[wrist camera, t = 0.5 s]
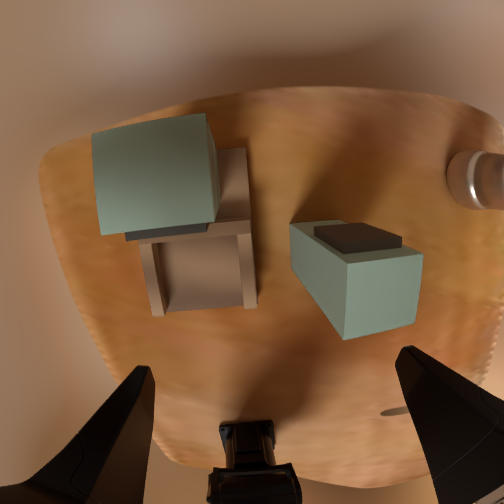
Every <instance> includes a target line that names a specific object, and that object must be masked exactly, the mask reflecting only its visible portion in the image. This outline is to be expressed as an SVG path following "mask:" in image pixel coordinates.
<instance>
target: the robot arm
mask: <svg viewBox="0 0 504 504" xmlns="http://www.w3.org/2000/svg"><path fill="white" fill-rule="evenodd" d="M395 368H396V371H397V374H398V378H399V381H400V385H401V388H402V392H403V395H404V399H405V402H406V404H407V407H408V409H409V412H410V415H411V417H412V420H413V423H414V426H415V428H416V431H417V434H418V437H419V440H420V442H421V445H422V448H423V451H424V454H425V457H426V461H427V464H428V467H429V470H430V473H431V477H432V479H433V484H434V488H435V491H436V495H437V499H438V503H439V504H473V503H476V504H504V401H503V400H501V399H500V398H497V397H496V396H494V395H492V394H490V393H489V392H487V391H485V390H484V389H482V388H481V387H478V386H477V385H476V384H474V383H473V382H471V381H469V380H468V379H466V378H465V377H463V376H461V375H460V374H458V373H457V372H455V371H453V370H452V369H450V368H448V367H447V366H445V365H444V364H442V363H440V362H439V361H437V360H436V359H434V358H432V357H431V356H429V355H428V354H426V353H424V352H423V351H421V350H419V349H418V348H416V347H415V346H413V345H409V346H405V347H403V348H402V349H401V351H400V353H399V355H398V357H397V360H396V362H395ZM154 401H155V380H154V378H153V375H152V372H151V369H150V367H149V366H142V365H138V366H136V367H135V369H134V370H133V371H132V372H131V373H130V374H129V375H128V376H127V377H126V379H125V380H124V381H123V382H122V383H121V384H120V385H119V386H118V388H117V389H116V390H115V391H114V392H113V393H112V394H111V396H110V397H109V398H108V399H107V400H106V401H105V402H104V403H103V405H102V406H101V407H100V408H99V409H98V410H97V411H96V412H95V414H94V415H93V416H92V417H91V418H90V419H89V420H88V422H87V423H86V424H85V425H84V426H83V427H82V428H81V430H80V431H79V432H78V434H76V435H75V436H74V437H73V438H72V440H71V441H70V442H69V443H68V444H67V445H66V446H65V447H64V449H62V450H61V451H60V452H59V453H58V454H57V455H56V456H55V457H54V458H53V459H52V460H51V461H49V463H47V464H46V465H45V466H44V467H43V468H41V469H40V470H39V471H38V472H37V473H36V474H34V475H33V476H32V477H31V478H29V479H28V480H26V481H24V482H22V483H19V484H14V485H8V486H2V487H0V504H143V497H144V488H145V480H146V472H147V464H148V457H149V450H150V444H151V438H152V431H153V422H154ZM219 432H220V436H221V440H222V443H223V447H224V451H225V454H226V468H218V467H213V473H211V474H209V482H208V492H207V502H208V503H209V504H302V492H301V487H300V484H299V481H298V479H297V476H296V474H295V471H294V469H293V466H292V464H291V463H286V464H282V465H276V461H275V456H274V451H273V450H274V449H275V447H274V427H273V421H271V420H268V421H260V422H251V423H241V424H229V425H220V426H219Z"/></svg>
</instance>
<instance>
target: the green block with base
mask: <svg viewBox="0 0 504 504" xmlns="http://www.w3.org/2000/svg"><path fill="white" fill-rule="evenodd" d="M92 158H93V172H94V184H95V194H96V203H97V210H98V218H99V225H100V231H101V235H108V234H115V233H122V232H125V237H126V241H131V240H138V243H139V249H140V255H141V261H142V266H143V272H144V277H145V282H146V287H147V292H148V296H149V301H150V305H151V310H152V314H153V317H155V316H165V314H166V312H173V311H187V310H200V309H211V308H222V307H233V306H242V305H244V309H251V308H257V304H258V297H257V285H256V272H255V259H254V246H253V234H252V221H251V209H250V196H249V184H248V171H247V159H246V147H239V148H227V149H217V150H216V146H215V143H214V140H213V136H212V133H211V130H210V127H209V123H208V120H207V117H206V113H198V114H190V115H183V116H176V117H169V118H163V119H157V120H152V121H146V122H141V123H136V124H131V125H127V126H122V127H118V128H114V129H109V130H105V131H101V132H98V133H94V134H92Z"/></svg>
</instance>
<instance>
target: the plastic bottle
mask: <svg viewBox="0 0 504 504" xmlns="http://www.w3.org/2000/svg"><path fill="white" fill-rule="evenodd" d="M447 184H448V188H449V191H450V193H451V195H452V196H453V197H454V199H455V200H456V202H458V203H459V204H460V205H462V206H464V207H467V208H469V209H472V210H486V209H496V210H504V154H497V153H489V152H486V151H483V150H477V149H467V150H464V151H460V152H458V153H457V154H455V156H454V157H453V158H452V160H451V161H450V163H449V166H448V169H447Z"/></svg>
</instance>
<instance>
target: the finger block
mask: <svg viewBox="0 0 504 504" xmlns="http://www.w3.org/2000/svg"><path fill="white" fill-rule="evenodd" d="M289 225H290V245H291V268H292V270H293V271H294V273H295V274H296V275H297V277H298V278H299V280H300V281H301V282H302V284H303V285H304V286H305V288H306V289H307V291H308V292H309V293H310V295H311V296H312V297H313V299H314V300H315V302H316V303H317V304H318V306H319V307H320V308H321V310H322V311H323V313H324V314H325V315H326V317H327V318H328V320H329V321H330V322H331V324H332V325H333V327H334V328H335V329H336V331H337V332H338V334H339V335H340V336H341V338H342V339H343V340H347V339H352V338H357V337H361V336H366V335H370V334H374V333H379V332H383V331H387V330H391V329H395V328H399V327H402V326H406V325H410V324H413V323H415V318H416V312H417V306H418V299H419V292H420V284H421V276H422V267H423V255H424V254H423V253H421V252H419V251H416V250H414V249H411V248H409V247H407V246H404V245H402V237H401V236H398V235H396V234H393V233H390V232H387V231H385V230H382V229H379V228H376V227H373V226H370V225H368V224H365V223H350V224H349V223H346V222H344V221H341V220H327V221H314V222H301V223H289Z"/></svg>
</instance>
